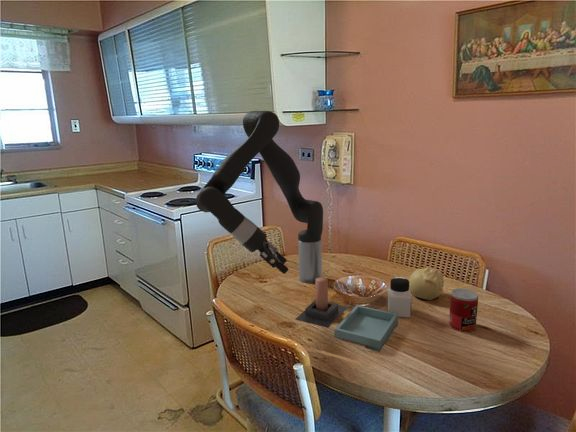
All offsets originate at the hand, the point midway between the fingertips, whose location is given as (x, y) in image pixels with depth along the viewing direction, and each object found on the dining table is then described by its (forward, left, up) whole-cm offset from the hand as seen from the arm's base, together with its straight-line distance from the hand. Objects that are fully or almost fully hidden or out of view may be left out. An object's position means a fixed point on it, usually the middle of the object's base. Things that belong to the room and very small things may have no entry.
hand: (285, 266), depth 133 cm
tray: (-4, +27, -18) cm, 32 cm away
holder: (-7, +10, -18) cm, 22 cm away
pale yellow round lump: (-38, +37, -19) cm, 56 cm away
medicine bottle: (-21, +32, -19) cm, 42 cm away
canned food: (-21, +52, -19) cm, 59 cm away
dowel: (-7, +10, -17) cm, 21 cm away
